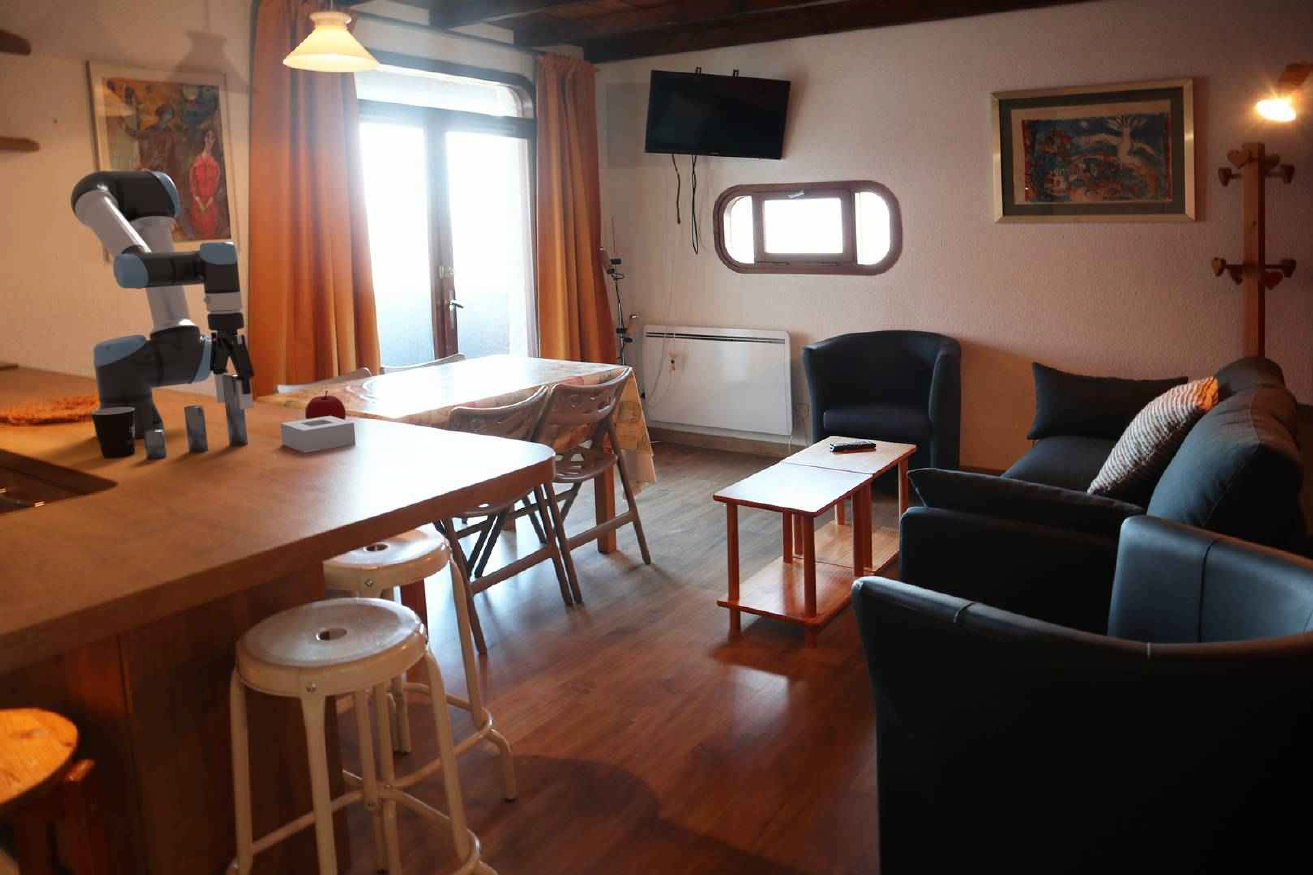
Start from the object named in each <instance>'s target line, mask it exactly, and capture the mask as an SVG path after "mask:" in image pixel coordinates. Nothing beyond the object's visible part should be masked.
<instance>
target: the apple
mask: <svg viewBox="0 0 1313 875" xmlns="http://www.w3.org/2000/svg"><path fill="white" fill-rule="evenodd" d="M328 392H329V391H328V390H325V394H324V395H322V396H321V395H320V396H315V397H312V399H310V401H309V402H308V403H307V406H306V408H305V420H306V419H312V418H319V417H325V416H333V417H336V418H340V419H343V420H346V416H347V415H346V414H347V412H346V411H347V410H346V407H345V405H344V404H343V402H342V401H341V400H340V399H339V398H338V397H336V396H334V395H327V394H328Z"/></svg>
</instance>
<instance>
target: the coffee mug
mask: <svg viewBox="0 0 1313 875" xmlns="http://www.w3.org/2000/svg"><path fill="white" fill-rule="evenodd" d="M90 414H91V417H92V421H93V424H94V430H95V429H96V433H97V437H98V438H97V440H98V443H99V447H100V451H101V455H102V458H104V459H120V458H127V457H131V456H133V455H135V452H136V450H135V448H136V444H135V443H136V442H135V441H136V438H135V409H134V408H131V407H117V408H107V409H100V410H99V409H97V410H93V411H91V412H90Z"/></svg>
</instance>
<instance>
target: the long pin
mask: <svg viewBox="0 0 1313 875" xmlns="http://www.w3.org/2000/svg"><path fill="white" fill-rule="evenodd" d="M237 376H238V375H237V373H236V374H234V373H233V374H231V373H230V374H228V375H224V376H222V380H223V389H224V399H225V402H224V408H225V416H226V418H225V419H226V425H227V435H228V443H229V447H242V446H247V445H248V444H249V441H248V430H247V421H246V419H247V418H246V411H245V410H246V409H240V403H239V394H238V385H237V381H236V377H237Z"/></svg>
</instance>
